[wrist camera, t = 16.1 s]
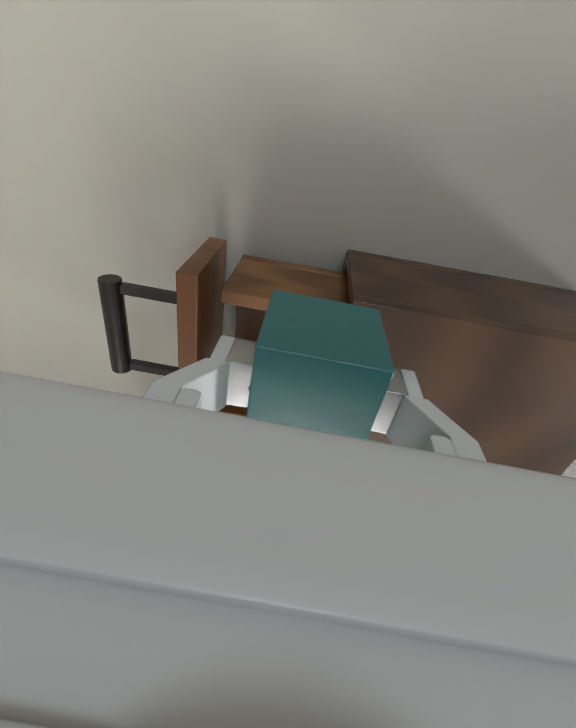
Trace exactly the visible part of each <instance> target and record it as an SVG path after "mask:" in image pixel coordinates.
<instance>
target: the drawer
mask: <svg viewBox="0 0 576 728" xmlns="http://www.w3.org/2000/svg"><path fill="white" fill-rule="evenodd" d="M225 260H226V240H224V239H218V238H213V237H210V238H209V239H208V240H207V241H206V242H205V243H204V244H203V245H202V246H201V247H200V248H199V249H198V250H197V251H196V252H195V253H194V254H193V255H192V256H191V257H190V258H189V259H188V260H187V261H186V262H185V263H184V264H183V265H182V266H181V267H180V268H179V269H178V270H177V271H176V292H175V291H169V290H164V289H158V288H153V287H147V286H142V285H136V284H131V283H125V282H123V283H122V278H121V277H120V276H118V275H113V274H107V275H102V276H100V277H98V279H97V280H98V286H99V293H100V299H101V305H102V311H103V317H104V324H105V330H106V336H107V342H108V348H109V355H110V361H111V367H112V370H113V371H114V372H116V373H126V372H129V371H130V370H136V371H142V372H147V373H153V374H158V375H164V376H166V375H168V374H170V373H172V372H175V371H177V370H179V369H182V368H184V367H186V366H188V365H191V364H193V363H195V362H197V361H200V360H202V359H204V358H210V357H211V355H212V353H213V351H214V349H215V347H216V345H217V343H218V340H219V338H220V336H222V319H223V303H226V304H231V305H237V306H238V307H237V320H236V333H235V338H241V339H245V340H250V341H255V342H257V339H258V336H259V333H260V330H261V326H262V323H263V320H264V317H265V314H266V311H267V308H268V304H269V301H270V298H271V295H272V292H273V290H280V291H285V292H290V293H296V294H301V295H306V296H311V297H317V298H322V299H327V300H332V301H338V302H343V303H348V304H350V303H349V292H348V280H347V273H341V272H336V271H330V270H325V269H319V268H314V267H308V266H303V265H297V264H292V263H287V262H281V261H276V260H270V259H265V258H259V257H254V256H248V255H243V256H242V258H241V260H240V262H239V263H238V265H237V267H236V268H235V270H234V271H233V273H232V275H231V276H230V278H229V279H228V281H227V283H226V284H225V286H224V280H225ZM124 295H129V296H134V297H140V298H145V299H151V300H156V301H162V302H167V303H173V304H177V327H178V361H179V367H174V366H169V365H163V364H158V363H152V362H147V361H141V360H136V359H132V358H131V350H130V341H129V333H128V325H127V316H126V308H125V300H124ZM218 412H222V413H228V414H233V415H238V416H244V417H246V413H247V408H245V407H239V406H233V405H226V406H225V407H224V408H222V409H221V410H220V411H218Z"/></svg>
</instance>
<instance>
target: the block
mask: <svg viewBox="0 0 576 728" xmlns="http://www.w3.org/2000/svg"><path fill="white" fill-rule="evenodd" d="M393 375H394V368H393V364H392V360H391V356H390V352H389V347H388V343H387V339H386V335H385V331H384V327H383V323H382V319H381V315H380V311H379V310H378V309H374V308H369V307H364V306H359V305H353V304H348V303H343V302H338V301H332V300H327V299H322V298H317V297H311V296H306V295H301V294H296V293H290V292H285V291H280V290H273V292H272V295H271V298H270V301H269V304H268V308H267V311H266V314H265V317H264V320H263V323H262V326H261V330H260V333H259V336H258V339H257V342H256V345H255V351H254V359H253V367H252V375H251V382H250V390H249V398H248V405H247V413H246V417H249V418H254V419H260V420H265V421H270V422H276V423H281V424H287V425H292V426H297V427H303V428H308V429H313V430H319V431H324V432H330V433H335V434H340V435H346V436H351V437H356V438H362V439H367V438H368V435H369V433H370V431H371V428H372V426H373V423H374V421H375V418H376V416H377V414H378V411H379V409H380V406H381V404H382V402H383V399H384V397H385V394H386V392H387V389H388V387H389V385H390V382H391V380H392V377H393Z"/></svg>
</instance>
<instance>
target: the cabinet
mask: <svg viewBox="0 0 576 728" xmlns="http://www.w3.org/2000/svg"><path fill="white" fill-rule="evenodd" d="M342 273H347V280H348V292H349V303H350V304H353V305H359V306H364V307H369V308H374V309H378V310H379V311H380V315H381V319H382V323H383V327H384V331H385V335H386V339H387V343H388V347H389V352H390V356H391V360H392V364H393V368H398V369H405V370H412V371H414V372H415V374H416V377H417V380H418V383H419V386H420V389H421V392H422V395H423V398H424V399H428V400H429V401H430V402H431V403H432V404H434V405H435V406H436V407H437V408H438V409H440V410H441V411H442V412H443V413H444V414H445V415H447V416H448V417H449V418H450V419H451V420H453V421H454V422H455V423H456V424H457V425H458V426H460V427H461V428H462V429H463V430H464V431H466V432H467V433H468V434H469V435H470V436H472V437H473V438H474V439H475V440H476V441H477V442H478V443H479V445H480V447H481V450H482V452H483V454H484V456H485V459H486V461H487V462H491V463H496V464H501V465H507V466H512V467H518V468H523V469H528V470H534V471H539V472H544V473H550V474H555V475H560V476H561V475H562V474H563V472H564V471H565V470H566V469H567V468H568V467H569V466H570V465H571V464H572V463H573V462H574V460H575V459H576V291H572V290H567V289H561V288H556V287H550V286H545V285H539V284H534V283H528V282H523V281H517V280H512V279H507V278H501V277H496V276H490V275H485V274H479V273H474V272H468V271H463V270H457V269H452V268H446V267H441V266H435V265H430V264H425V263H419V262H414V261H408V260H403V259H397V258H392V257H386V256H381V255H375V254H370V253H364V252H359V251H353V250H348V252H347V256H346V260H345V264H344V268H343V272H342ZM367 440H373V441H378V442H383V443H389V444H392V443H391V441H390V440H389V439H388V437H387V436H386V434H382V433H378V432H373V431H370V433H369V435H368V438H367Z"/></svg>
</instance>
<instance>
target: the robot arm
mask: <svg viewBox="0 0 576 728" xmlns="http://www.w3.org/2000/svg"><path fill="white" fill-rule="evenodd" d="M255 345H256V342H255V341H250V340H245V339H241V338H235V337H231V336H226V335H222V336H220V338H219V340H218V343H217V345H216V347H215V349H214V351H213V353H212V355H211V357H210V358H204V359H202V360H200V361H197V362H195V363H193V364H191V365H188V366H186V367H184V368H182V369H179V370H177V371H175V372H172V373H170V374H168V375H166V376H163V377H161V378H159V379H157V380H154V381H153V382H152V383H151V385H150V386H149V388H148V389H147V391H146V392H145V394H144V395H143V397H136V396H131V395H125V394H120V393H115V392H109V391H104V390H99V389H93V388H88V387H83V386H77V385H72V384H66V383H61V382H56V381H50V380H45V379H40V378H34V377H29V376H23V375H18V374H13V373H7V372H2V371H0V728H576V478H571V477H566V476H560V475H555V474H550V473H544V472H539V471H534V470H528V469H523V468H518V467H512V466H507V465H501V464H496V463H491V462H487V461H486V459H485V456H484V454H483V452H482V450H481V447H480V445H479V443H478V442H477V441H476V440H475V439H474V438H473V437H472V436H470V435H469V434H468V433H467V432H466V431H464V430H463V429H462V428H461V427H460V426H458V425H457V424H456V423H455V422H454V421H453V420H451V419H450V418H449V417H448V416H447V415H445V414H444V413H443V412H442V411H441V410H440V409H438V408H437V407H436V406H435V405H434V404H432V403H431V402H430V401H429V400H428V399H424V398H423V395H422V392H421V389H420V386H419V383H418V380H417V377H416V374H415V372H414V371H412V370H405V369H398V368H394V375H393V377H392V380H391V382H390V385H389V387H388V389H387V392H386V394H385V397H384V399H383V402H382V404H381V406H380V409H379V411H378V414H377V416H376V418H375V421H374V423H373V426H372V428H371V431H373V432H378V433H382V434H386V436H387V437H388V439H389V440H390V441H391V443H392V444H389V443H383V442H378V441H373V440H367V439H362V438H356V437H351V436H346V435H340V434H335V433H330V432H324V431H319V430H313V429H308V428H303V427H297V426H292V425H287V424H281V423H276V422H270V421H265V420H260V419H254V418H249V417H244V416H238V415H233V414H228V413H222V412H218V411H220V410H221V409H222V408H224V407H225V406H226V405H233V406H239V407H245V408H247V405H248V398H249V390H250V382H251V375H252V367H253V359H254V351H255Z"/></svg>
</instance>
